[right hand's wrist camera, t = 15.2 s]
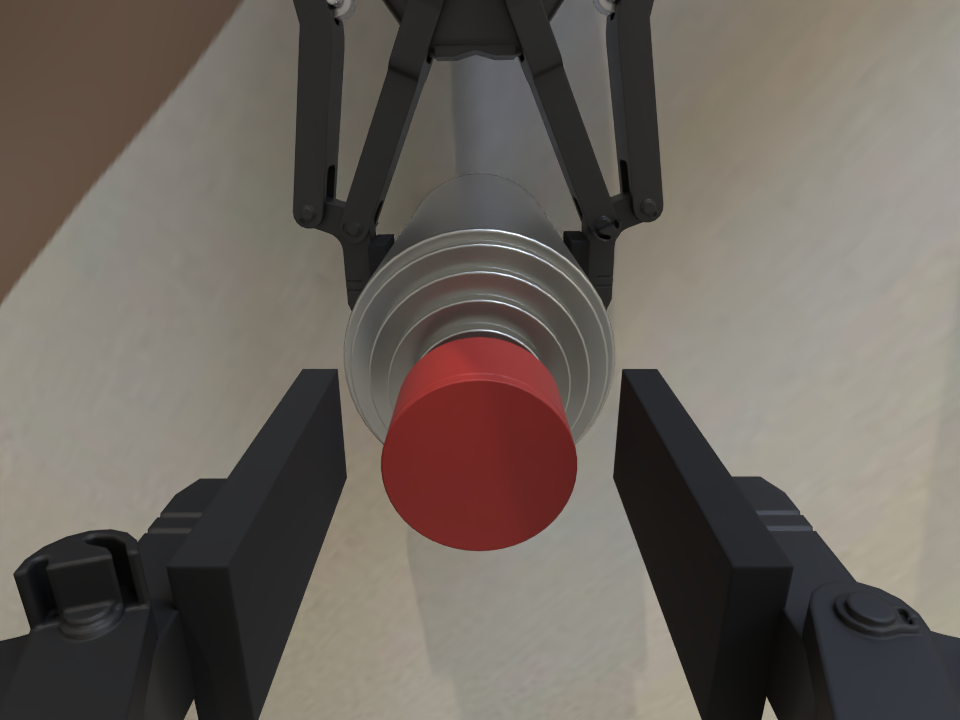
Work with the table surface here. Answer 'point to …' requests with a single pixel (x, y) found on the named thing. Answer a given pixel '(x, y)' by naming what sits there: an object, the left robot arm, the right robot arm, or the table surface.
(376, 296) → the bottle
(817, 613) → the right robot arm
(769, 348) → the table surface
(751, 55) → the table surface
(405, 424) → the cap
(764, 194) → the table surface
